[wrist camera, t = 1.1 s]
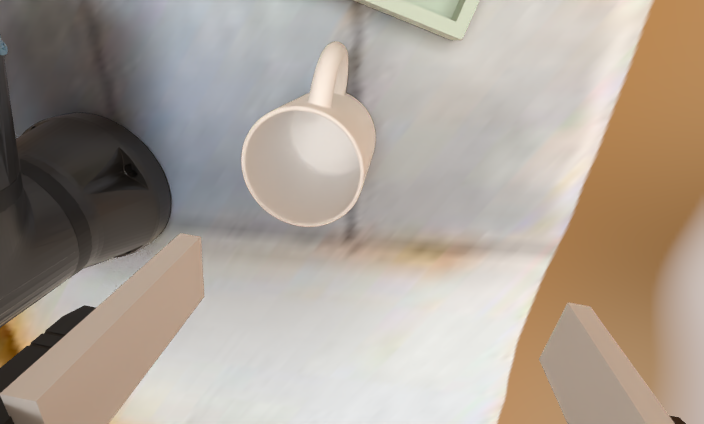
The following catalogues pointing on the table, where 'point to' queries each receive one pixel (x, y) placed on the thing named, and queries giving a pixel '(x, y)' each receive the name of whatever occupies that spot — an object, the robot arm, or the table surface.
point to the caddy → (430, 14)
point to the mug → (311, 149)
